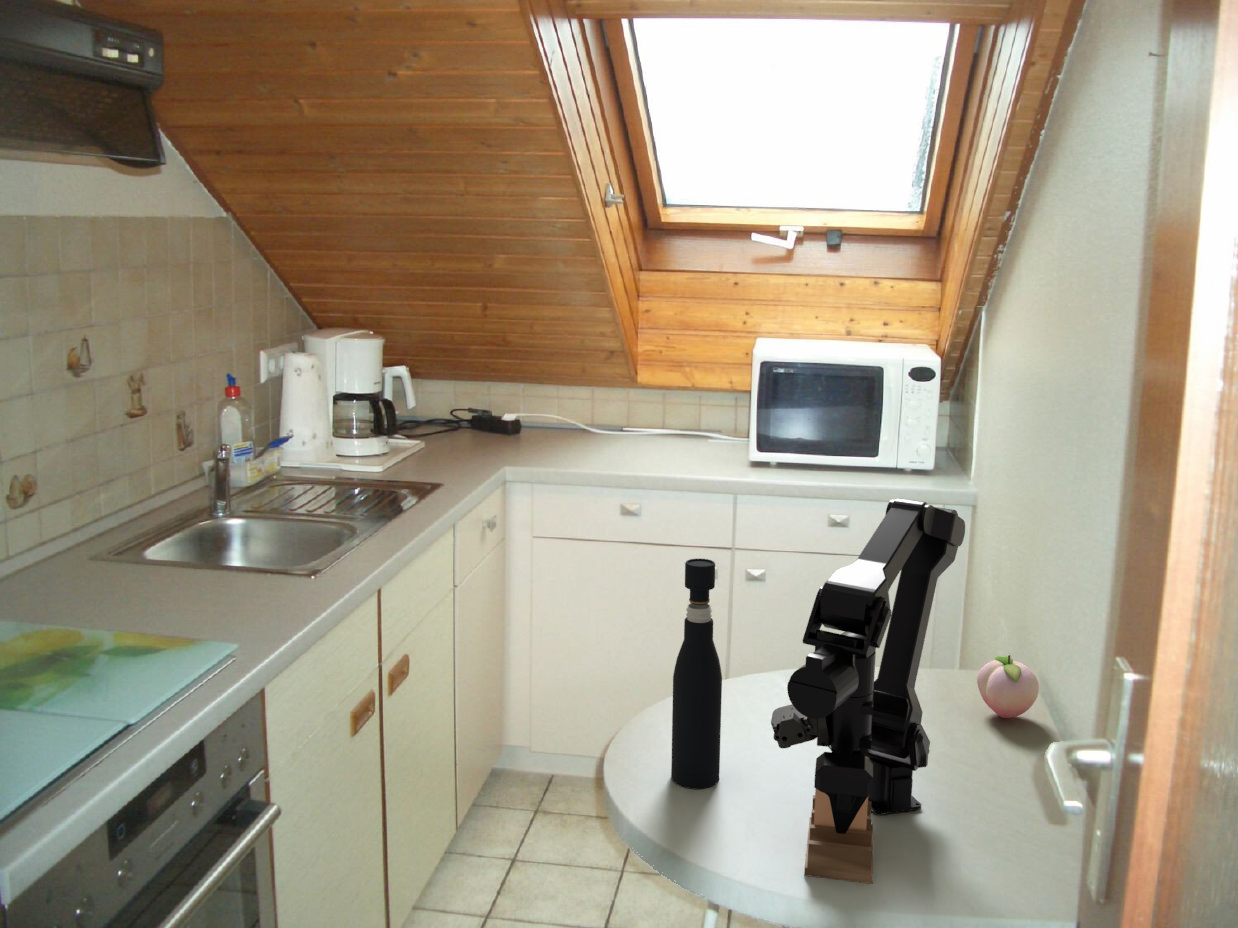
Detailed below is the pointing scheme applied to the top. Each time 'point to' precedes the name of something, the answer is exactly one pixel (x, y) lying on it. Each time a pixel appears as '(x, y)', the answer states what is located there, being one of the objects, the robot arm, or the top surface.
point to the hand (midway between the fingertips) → (841, 812)
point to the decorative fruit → (1007, 686)
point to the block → (825, 815)
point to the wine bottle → (697, 687)
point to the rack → (840, 852)
